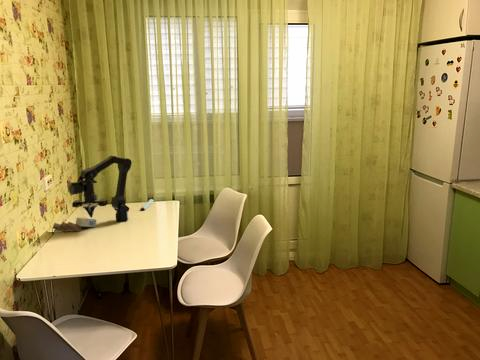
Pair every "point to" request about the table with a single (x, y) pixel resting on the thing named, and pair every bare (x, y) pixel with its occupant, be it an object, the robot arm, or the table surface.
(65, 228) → the domino
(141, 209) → the white black-tipped bar
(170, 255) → the table surface
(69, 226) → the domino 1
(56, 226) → the domino
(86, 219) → the medicine box
